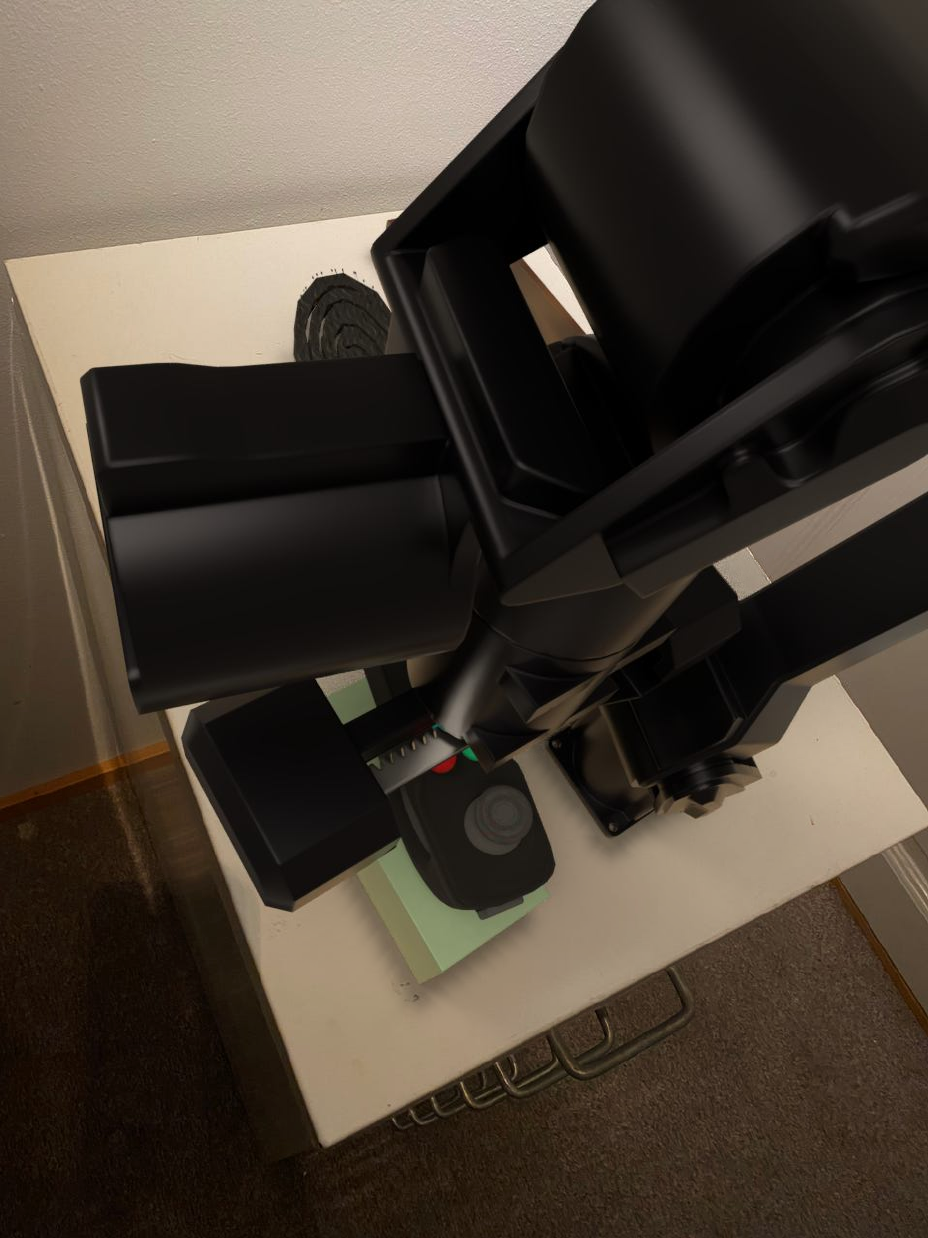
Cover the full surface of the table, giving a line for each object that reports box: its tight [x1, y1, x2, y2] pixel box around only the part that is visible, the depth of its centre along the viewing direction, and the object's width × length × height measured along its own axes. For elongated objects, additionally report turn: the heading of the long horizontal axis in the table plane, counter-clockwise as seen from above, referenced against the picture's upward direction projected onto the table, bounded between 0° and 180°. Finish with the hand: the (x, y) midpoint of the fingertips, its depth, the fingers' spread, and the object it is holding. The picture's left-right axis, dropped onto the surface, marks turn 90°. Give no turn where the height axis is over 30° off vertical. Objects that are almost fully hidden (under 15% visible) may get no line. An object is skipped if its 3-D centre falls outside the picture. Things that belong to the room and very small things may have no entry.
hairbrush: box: [292, 268, 392, 362], centre depth 54 cm, size 8×4×25 cm
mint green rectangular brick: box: [325, 676, 552, 985], centre depth 41 cm, size 13×6×6 cm, turn 33°
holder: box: [385, 217, 587, 345], centre depth 62 cm, size 16×8×4 cm, turn 33°
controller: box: [362, 660, 557, 920], centre depth 34 cm, size 4×12×10 cm, turn 23°
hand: (440, 757), depth 34 cm, fingers open, 9 cm apart
